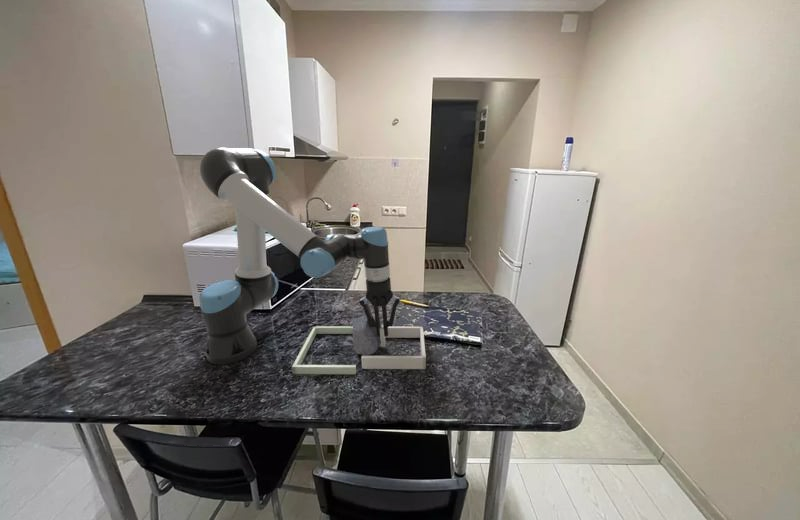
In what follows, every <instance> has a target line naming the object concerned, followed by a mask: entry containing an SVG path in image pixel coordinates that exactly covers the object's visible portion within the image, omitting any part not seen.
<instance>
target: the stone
mask: <svg viewBox="0 0 800 520" xmlns="http://www.w3.org/2000/svg"><path fill="white" fill-rule="evenodd" d="M373 319H374V321H375V317H373ZM352 323H353V324H352V326H353V330H352V331H353V334H352V343H353V347H354V351H355V353H356V354H358V355H361V356H371V355H373V354H375V353H376V351H377V350H378V348H379V347H380V346H381V339H380V337H377V331H376V328H375V327H370V324H369V322H368V319H367V316H366V314H365V313H362V314H360V315H358V316H356V317H355V318H354V319H353V320H352Z"/></svg>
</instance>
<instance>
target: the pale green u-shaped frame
mask: <svg viewBox="0 0 800 520" xmlns="http://www.w3.org/2000/svg"><path fill="white" fill-rule="evenodd" d="M352 330H353V325H352V326H345V325H343V326H341V325H340V326H338V325H337V326H336V325H335V326H331V325H329V326H326V325H324V326H322V325H321V326H320V325H317V326H316V325H315V326H313V327H312V330H311V331H310V333H309V334H308V336H307V338H306V340H305V342H304V344H303V345H302V347H301V349H300V351H299V353H298V355H297V357H296V358H295V361H294V362H293V364H292V366H291V371H292V375H356V374H357V365H356V364H302V363H303V361H304V359H305V357H306V355H307V353H308V351H309V349H310V348H311V346H312V344H313V341H314V339H315V337H316V335H325V334H329V335H330V334H331V335H333V334H334V335H346V334H348V335H351V334H352V335H353V331H352Z"/></svg>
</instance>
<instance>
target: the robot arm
mask: <svg viewBox="0 0 800 520" xmlns="http://www.w3.org/2000/svg"><path fill="white" fill-rule="evenodd" d="M199 164H200V165H199V172H200V173H199V174H200V177H201V180H202V182H203V183H204V185H205V186H206V187H207V189H208V190H209V191H210V192H211V193H212V194H213V195H214V196H216V197H217V198H218V199H219V200H220V201H222V202H224V203H230V204H231V205H233V206H234V207H235V208H234V209H235V222H236V223H235V224H236V225H235V226H236V236H237V237H236V238H237V250H238V251H237V254H238V265H239V266H238V267H237V268H236V269H235V270H234V279H225V280H221V281H220V282H219V281H218V282H214V283H212V284H209V285H207V286H206V287H205V288H203V290H202V291H201V292H200V294H199V307H200V310H201V312H202V317H203V320H204V321H203V322H204V325H205V329H206V334H207V340H206V345H205V350H204V351H205V353H204V354H205V356H206V360H207V362H209V363H210V364H213V365H221V366H222V365H229V364H233V363H236V362H240V361H241V360H244V359H245V358H247V357H249V356H250V355H252V354H253V353H254V352H255V351H256V350H257V348H258V342H257V338H256V335H254V333H253V331H252V329H251V328H250V327H249V325H248V321H247V314H249V313H250V312H252V311H253V310H255V309H256V308H258V307H260V306H261V305H264V304H266V303H268V302H269V301H270V300H271V299H273V298H274V297H275V295H276V294H277V292H278V289H279V279H278V278H277V276H275V272H273V271H272V268H271V267H270V266H268V265H267V245H266V244H267V243H266V242H267V241H266V232H267V233H268V234H269V235H270V236H272V238H274V239H275V240H277V242H279V243H281V245H283V246H284V247H285V248H286V249H288V250H289V251H290V252H291V253H293V254H294V255H295V256H297V257H298V258H299V259H300V267H301V268H302V270H303V273H304V274H306V275H307V276H308V277H310V278H314V279H318V278H322V277H324V276H326V275H328V274H330V273H331V272H332V271H333V270H334V269H336V268H337V267H338V266H340V265H342V264H343V263H345V262H347V260H363V263H364V264H363V265H364V275H365V277H364V278H365V286H366V293H365V296H363V297H361V298H360V299H359V302H358V303H359V305H360V306H361V307H362V308H363V310H364V311H363V312H364V314H366V316H367V319H368V322H369V324H370V327H375V328H376V331H377V337H380V339H381V344H380V347H381V348H384V347H386V338H385V336H388V327H389V326H390V327H391V326H394V322H395V315H396V310H397V306H398V305H399V303H400V301H401V300H400V299H401V297H400V296H399V295H398V296H396V295H395V294H394V293H393V291H392V283H391V277H390V276H391V270H390V269H391V268H390V267H391V266H390V261H389V258H390V257H389V240H388V233H387V230H386V229H385V227H383V226H368V227H364V228H362V229H361V231H360V234H353V233H333V234H331V233H330V234H327V236H326V237H325V239H321V238H320V237H319V236H317V235H316V234H315V233H313V231H311V229H309V228H307V227H306V226H305V225H304V224H303V223H301V222H300V221H299V220H298V219H296V217H294V216H293V215H291V214H290V213H289V212H288V211H286V210H285V209H284V208H283V207H281V206H280V205H279V204H278V203H276V202H275V201H274V200H273V199H272V198H270V197H269V195H270V186H272V184H273V183H274V182H275V180H276V176H277V170H276V166H275V164H274V161H273V160H272V158H270V156H269V154H267V153H266V152H264V151H262V150H260V149H255V148H250V147H249V148H248V147H246V148H245V147H244V148H243V147H241V148H239V147H237V148H235V147H233V148H232V147H216V148H214V149H210V150H209V151H208V152H206V153H205V154H204V155H203V157H202V158H201V160H200V163H199ZM390 301H391V303H392V305H391V310H390V311H391V312H390V317H389V320H388V310H387V309H388V308H387V305H388V304H389V303H390ZM368 302H369V303H368ZM369 304H371V305H372V306H373V313H374V316H373V314H372V312H371V309H370V306H369ZM380 307H381V312H382V324H381V315H380ZM373 318H374V319H373ZM374 320H375V321H374Z"/></svg>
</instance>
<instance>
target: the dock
mask: <svg viewBox="0 0 800 520" xmlns="http://www.w3.org/2000/svg"><path fill="white" fill-rule="evenodd" d="M386 338H387V339H389V338H390V339H391V338H393V339H398V338H400V339H402V338H405V339H406V338H407V339H410V338H411V339H412V338H413V339H414V338H415V339H417V338H418V339H419V340H420V341H419V342H420V354H421V355H361V360H360V361H361V369H364V370H427V369H426V368H427V367H426V366H427V365H426V364H427V355H426V347H425V346H426V345H425V336H424V327H423V326H403V325H402V326H396V325H395V326H394V325H392V326H391V327H390V326H389V327H388V336H385V339H386Z"/></svg>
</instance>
